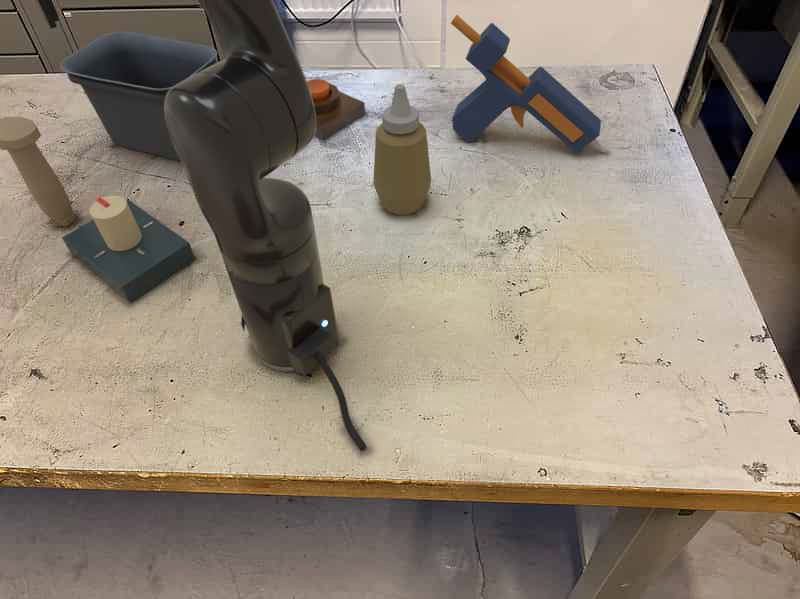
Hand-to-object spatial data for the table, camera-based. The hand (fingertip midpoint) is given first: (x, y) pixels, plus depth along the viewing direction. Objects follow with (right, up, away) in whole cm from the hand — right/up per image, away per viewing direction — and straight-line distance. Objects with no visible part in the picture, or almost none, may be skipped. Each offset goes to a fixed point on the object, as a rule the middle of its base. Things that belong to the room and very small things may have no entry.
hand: (13, 36), depth 68 cm
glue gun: (+64, -5, +27) cm, 69 cm away
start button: (+30, +4, +31) cm, 43 cm away
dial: (+8, -22, +10) cm, 25 cm away
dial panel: (+8, -24, +12) cm, 28 cm away
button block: (+30, +2, +34) cm, 45 cm away
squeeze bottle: (+44, -16, +18) cm, 50 cm away
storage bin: (+7, -4, +30) cm, 31 cm away
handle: (-4, -19, +17) cm, 26 cm away
